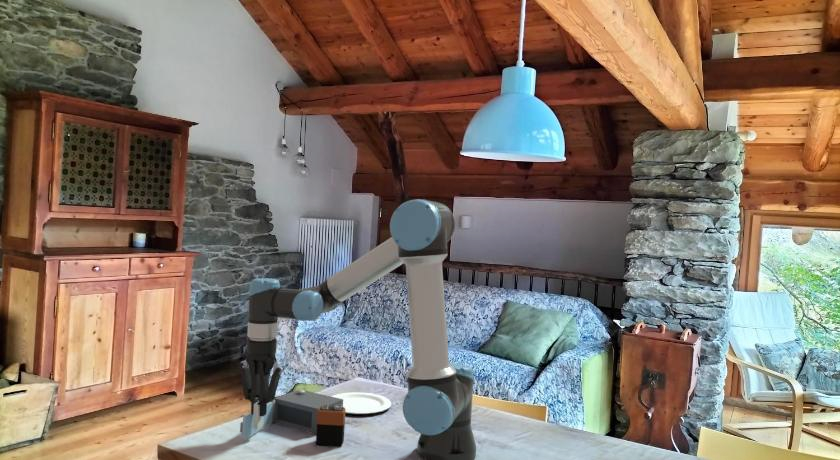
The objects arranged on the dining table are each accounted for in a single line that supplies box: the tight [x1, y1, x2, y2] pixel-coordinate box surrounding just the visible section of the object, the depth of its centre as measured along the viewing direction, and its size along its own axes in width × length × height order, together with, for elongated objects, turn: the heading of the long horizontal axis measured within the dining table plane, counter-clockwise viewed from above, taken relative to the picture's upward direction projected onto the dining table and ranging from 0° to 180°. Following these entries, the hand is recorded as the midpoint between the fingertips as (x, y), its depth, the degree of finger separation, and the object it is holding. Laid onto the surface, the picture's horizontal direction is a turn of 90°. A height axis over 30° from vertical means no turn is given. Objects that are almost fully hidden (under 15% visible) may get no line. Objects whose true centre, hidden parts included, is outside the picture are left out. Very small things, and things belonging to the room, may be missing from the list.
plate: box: [331, 391, 392, 416], centre depth 187 cm, size 21×21×2 cm
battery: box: [315, 405, 346, 448], centre depth 155 cm, size 4×7×10 cm, turn 90°
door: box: [239, 400, 275, 441], centre depth 160 cm, size 15×2×6 cm, turn 164°
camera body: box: [273, 388, 343, 435], centre depth 169 cm, size 18×11×8 cm, turn 63°
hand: (257, 427), depth 156 cm, fingers closed
